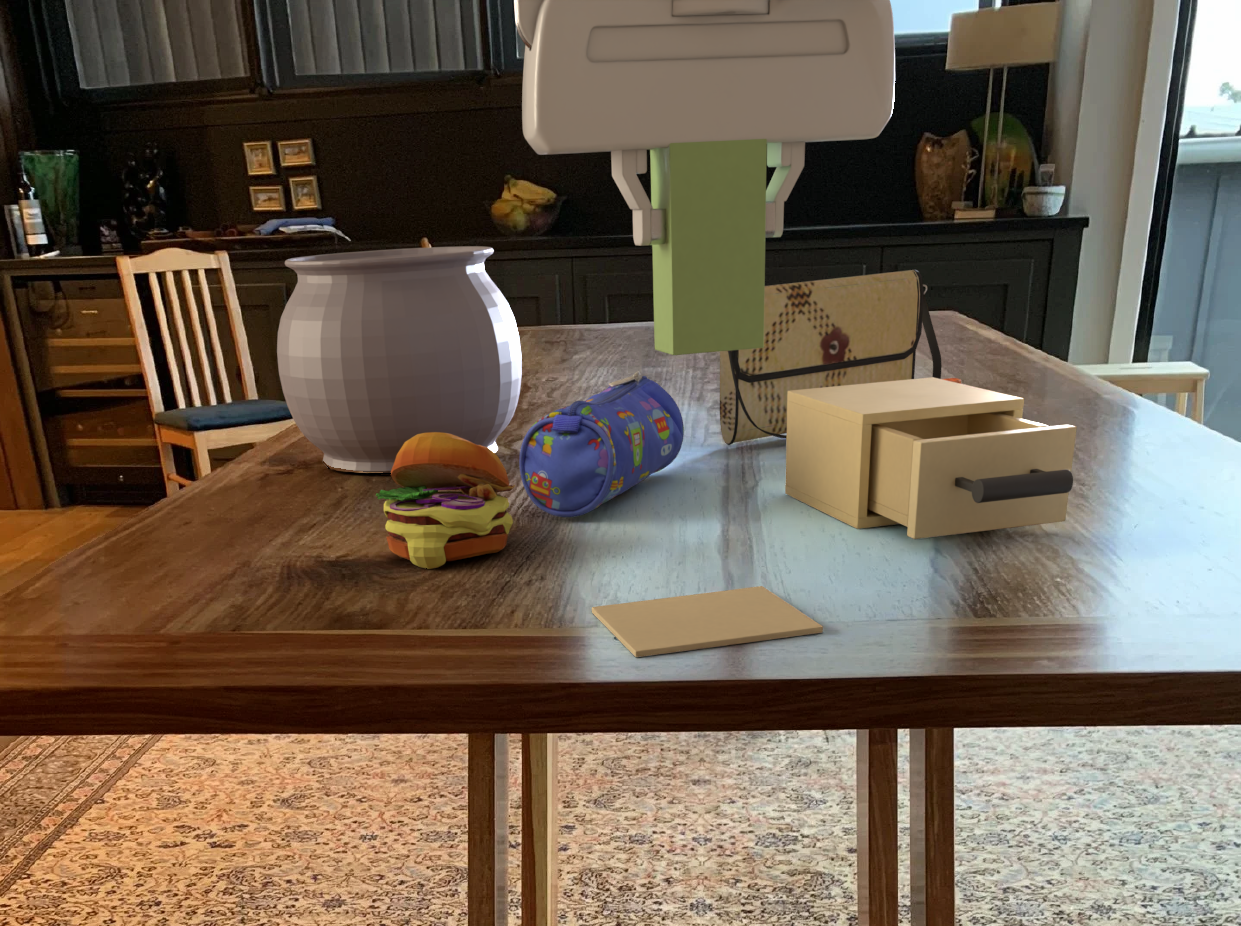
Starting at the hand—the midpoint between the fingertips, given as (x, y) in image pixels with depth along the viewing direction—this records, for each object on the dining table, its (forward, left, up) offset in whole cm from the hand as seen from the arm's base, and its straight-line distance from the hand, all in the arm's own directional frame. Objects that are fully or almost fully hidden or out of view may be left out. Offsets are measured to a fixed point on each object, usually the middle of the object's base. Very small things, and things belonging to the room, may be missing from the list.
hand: (709, 241), depth 74 cm
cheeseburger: (+13, -25, -22) cm, 36 cm away
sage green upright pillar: (0, 0, -6) cm, 6 cm away
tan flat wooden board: (+1, +1, -22) cm, 22 cm away
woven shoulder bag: (-35, -59, -22) cm, 72 cm away
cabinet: (-25, -25, -22) cm, 42 cm away
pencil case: (-4, -39, -22) cm, 45 cm away
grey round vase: (+10, -67, -22) cm, 71 cm away
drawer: (-25, -14, -21) cm, 36 cm away
